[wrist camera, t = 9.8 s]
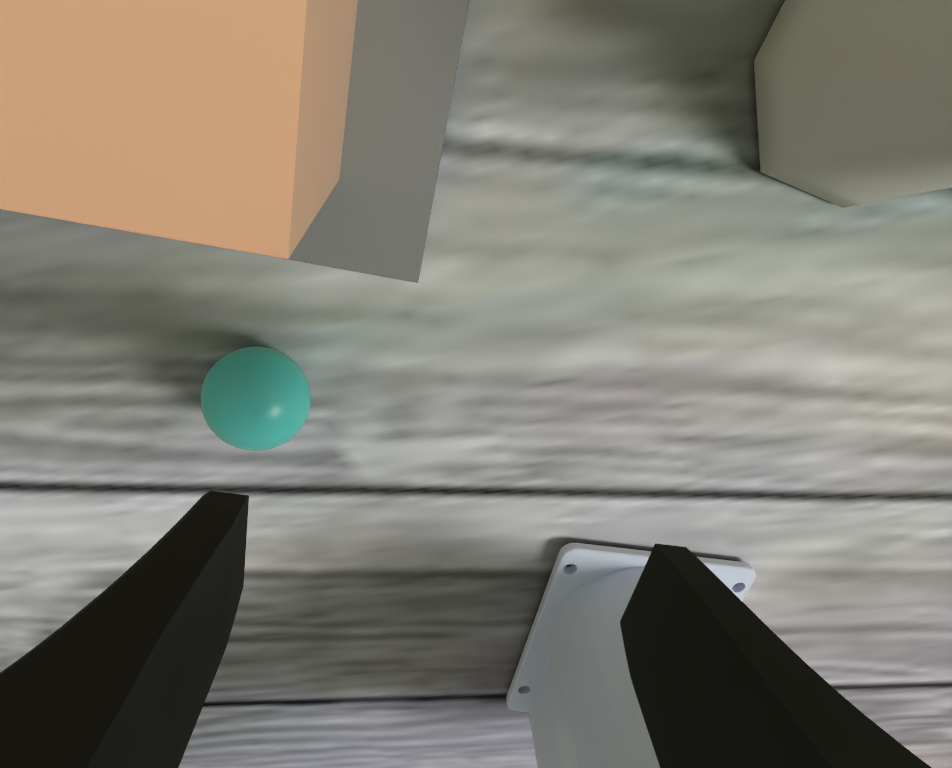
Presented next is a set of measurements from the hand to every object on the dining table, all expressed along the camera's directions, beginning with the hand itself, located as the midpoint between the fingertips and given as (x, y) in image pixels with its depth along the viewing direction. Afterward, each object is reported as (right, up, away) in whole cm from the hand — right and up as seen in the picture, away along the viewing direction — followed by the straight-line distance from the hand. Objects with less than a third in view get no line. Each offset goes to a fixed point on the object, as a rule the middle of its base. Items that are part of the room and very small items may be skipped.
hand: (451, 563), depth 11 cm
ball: (-6, +3, +8) cm, 11 cm away
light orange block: (-5, +11, +4) cm, 13 cm away
